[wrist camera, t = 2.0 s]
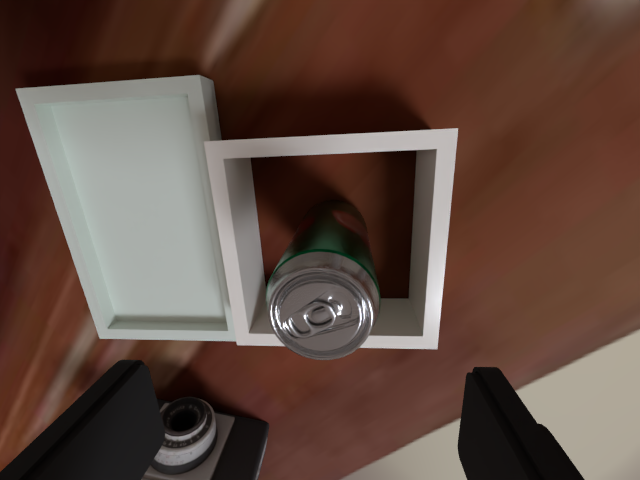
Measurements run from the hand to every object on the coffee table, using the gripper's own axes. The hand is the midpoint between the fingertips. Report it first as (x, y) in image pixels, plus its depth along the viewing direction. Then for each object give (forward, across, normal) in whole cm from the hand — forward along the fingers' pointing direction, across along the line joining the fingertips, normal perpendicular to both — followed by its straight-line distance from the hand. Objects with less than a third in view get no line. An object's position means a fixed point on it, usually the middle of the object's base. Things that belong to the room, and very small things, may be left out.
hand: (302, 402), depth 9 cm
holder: (+16, 0, -1) cm, 16 cm away
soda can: (+16, 0, -1) cm, 16 cm away
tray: (+16, +14, -2) cm, 21 cm away
